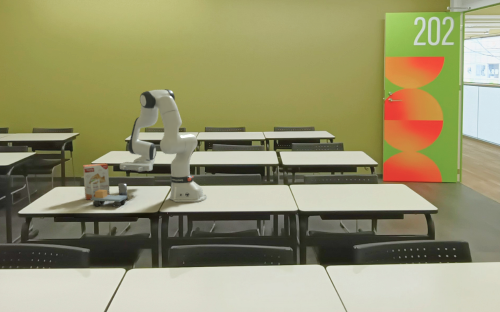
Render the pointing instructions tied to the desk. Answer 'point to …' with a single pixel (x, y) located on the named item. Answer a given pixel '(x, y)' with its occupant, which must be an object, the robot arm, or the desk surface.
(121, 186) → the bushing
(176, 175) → the robot arm
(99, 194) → the orange block
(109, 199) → the cart
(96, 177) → the cracker box
